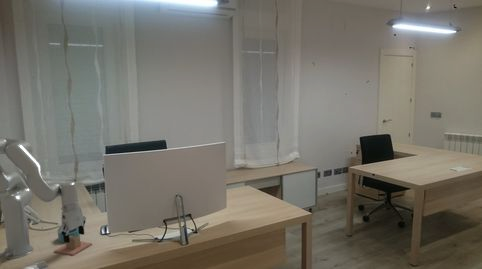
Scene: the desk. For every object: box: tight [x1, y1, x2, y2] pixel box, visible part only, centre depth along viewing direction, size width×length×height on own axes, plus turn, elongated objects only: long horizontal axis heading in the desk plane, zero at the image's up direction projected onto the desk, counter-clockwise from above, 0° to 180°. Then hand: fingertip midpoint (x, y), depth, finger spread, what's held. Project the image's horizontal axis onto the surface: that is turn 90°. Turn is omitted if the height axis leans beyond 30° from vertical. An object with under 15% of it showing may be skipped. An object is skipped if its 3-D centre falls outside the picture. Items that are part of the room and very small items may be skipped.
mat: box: [53, 246, 91, 257], centre depth 176 cm, size 13×13×1 cm
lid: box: [53, 236, 93, 256], centre depth 175 cm, size 12×12×6 cm
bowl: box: [57, 227, 81, 244], centre depth 188 cm, size 10×10×5 cm
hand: (74, 238), depth 175 cm, fingers open, 9 cm apart
